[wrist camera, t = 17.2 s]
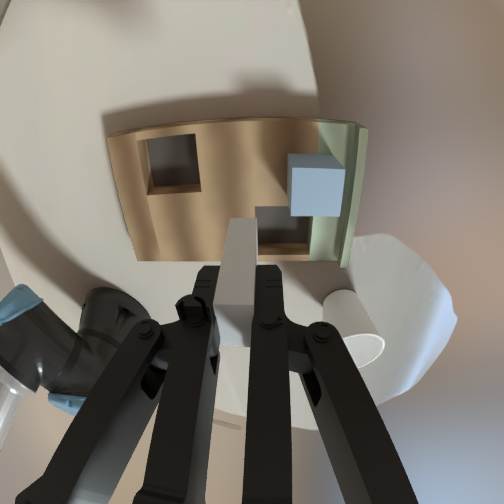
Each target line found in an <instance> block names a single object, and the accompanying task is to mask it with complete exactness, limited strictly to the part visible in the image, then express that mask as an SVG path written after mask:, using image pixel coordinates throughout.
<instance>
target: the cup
mask: <svg viewBox="0 0 504 504" xmlns="http://www.w3.org/2000/svg"><path fill="white" fill-rule="evenodd" d="M323 322H327V323H330V324H332V325H333V326H335V327H336V329H337V330H338V331H339V333H340V335H341V337H342V339H343V341H344V343H345V345H346V347H347V349H348V351H349V353H350V355H351V357H352V359H353V361H354V363H355V365H356V367H357V368H359V367H362V366H364V365H366V364H368V363H370V362H372V361H373V360H375V359H376V358H377V357H378V356H379V355H380V354H381V353H382V351H383V349H384V347H385V341H384V339H383V338H382V337H381V336H380V335H379V333H378V331H377V329H376V327H375V326H374V324H373V322H372V320H371V319H370V317H369V316H368V314H367V312H366V310H365V308H364V307H363V305H362V303H361V301H360V300H359V298H358V296H357V295H356V294H355V293H354V292H353V291H351V290H337V291H335V292H333V293H331V294H330V295H328V296H327V297H326V298H325V300H324V302H323Z"/></svg>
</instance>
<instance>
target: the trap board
mask: <svg viewBox="0 0 504 504" xmlns="http://www.w3.org/2000/svg"><path fill="white" fill-rule="evenodd" d="M367 139H368V128H366V127H364V126H362V125H360V124H358V123H357V122H352V121H342V120H331V119H316V118H293V117H250V118H226V119H211V120H200V121H189V122H181V123H172V124H165V125H158V126H151V127H145V128H139V129H134V130H128V131H123V132H118V133H116V134H114V135H112V136H110V137H108V138H107V143H108V149H109V154H110V159H111V164H112V169H113V173H114V178H115V182H116V186H117V191H118V195H119V199H120V203H121V207H122V210H123V214H124V218H125V221H126V225H127V228H128V232H129V235H130V239H131V242H132V245H133V248H134V251H135V255H136V258H137V261H221V260H222V255H223V250H224V245H225V241H226V236H227V231H228V226H229V222H230V218H257V238H258V261H338V264H339V266H340V268H346V267H347V265H348V261H349V256H350V251H351V247H352V242H353V236H354V231H355V226H356V220H357V214H358V209H359V202H360V195H361V190H362V183H363V175H364V167H365V159H366V149H367ZM288 153H289V154H323V155H333V156H334V157H335V158H336V159H337V160H338V161H339V162H340V164H341V165H342V166H343V167H344V168H345V179H344V188H343V196H342V204H341V212H340V217H332V216H291V215H290V209H289V204H288V199H287V164H288Z"/></svg>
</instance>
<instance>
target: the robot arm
mask: <svg viewBox="0 0 504 504" xmlns="http://www.w3.org/2000/svg"><path fill="white" fill-rule="evenodd" d="M175 306H176V309H177V313H178V316H179V319H180V320H178V321H176V322H173V323H169V324H164V325H160V324H159V323H158V322H157V321H155V320H153V319H151V318H150V316H149V314H148V312H147V311H146V310H145V309H144V308H143V307H142V306H141V305H140V304H139V303H138V302H137V301H136V300H134V299H133V298H131V297H130V296H128V295H126V294H124V293H122V292H120V291H117V290H114V289H110V288H96V289H94V290H92V291H90V292H89V294H88V295H87V297H86V299H85V300H84V302H83V306H82V313H81V318H80V325H79V330H78V332H77V333H76V332H75V331H74V330H72V329H71V328H70V327H69V326H68V325H67V324H66V323H65V322H64V321H62V320H61V319H60V318H59V317H58V316H57V315H56V314H55V313H54V312H53V311H52V310H51V309H50V308H49V307H48V306H47V305H46V304H45V303H44V302H43V299H42V298H40V297H38V296H37V295H36V294H35V293H34V292H33V291H32V290H31V289H30V288H29V287H28V286H27V285H24V284H19V285H17V286H16V287H15V288H13V290H11V291H10V292H9V293H8V294H7V296H6V297H5V298H4V299H3V300H2V301H1V302H0V450H1V448H2V445H3V442H4V440H5V437H6V434H7V432H8V429H9V427H10V424H11V422H12V420H13V417H14V415H15V413H16V411H17V408H18V406H19V404H20V402H21V400H22V398H23V396H25V395H32V394H35V393H36V391H37V389H38V387H39V386H40V385H41V386H43V387H44V388H45V389H47V390H48V391H49V392H50V393H49V394H48V400H49V402H50V403H51V404H53V405H54V406H56V407H57V408H59V409H61V410H63V411H65V412H67V413H69V414H72V415H74V416H75V418H74V419H73V421H72V423H71V424H70V426H69V428H68V430H67V432H66V433H65V435H64V437H63V439H62V440H61V442H60V444H59V446H58V448H57V449H56V452H55V453H54V455H53V457H52V459H51V461H50V463H49V464H48V466H47V468H46V471H45V472H44V474H43V475H42V476H41V477H40V478H39V479H37V480H36V481H35V482H34V483H32V484H31V485H30V486H29V487H27V488H26V489H25V490H23V491H22V492H21V493H20V494H18V495H17V497H16V499H15V504H107V503H108V502H109V500H110V498H111V496H112V495H113V493H114V490H115V488H116V486H117V484H118V482H119V480H120V478H121V476H122V474H123V472H124V470H125V468H126V466H127V464H128V462H129V460H130V458H131V456H132V454H133V452H134V450H135V448H136V446H137V444H138V442H139V440H140V438H141V436H142V434H143V432H144V430H145V428H146V426H147V424H148V422H149V420H150V418H151V416H152V414H153V412H154V410H155V409H156V407H157V405H158V403H159V405H158V410H157V415H156V419H155V424H154V429H153V433H152V439H151V444H150V449H149V454H148V460H147V465H146V471H145V477H144V482H143V486H142V488H141V489H140V490H139V491H138V492H137V493H136V495H135V497H134V499H133V503H132V504H206V503H205V490H206V479H207V469H208V459H209V449H210V440H211V431H212V422H213V413H214V404H215V395H216V387H217V378H218V370H219V362H220V352H219V345H220V343H221V346H231V347H250V365H249V384H248V403H247V422H246V440H245V441H246V442H245V458H244V476H243V495H242V504H292V443H291V407H290V382H289V371H293V372H297V373H299V376H300V379H301V382H302V384H303V387H304V390H305V393H306V395H307V398H308V401H309V404H310V406H311V409H312V412H313V415H314V418H315V420H316V423H317V426H318V429H319V431H320V434H321V437H322V440H323V442H324V445H325V448H326V451H327V453H328V456H329V459H330V461H331V465H332V467H333V470H334V473H335V476H336V478H337V481H338V484H339V486H340V490H341V492H342V495H343V498H344V501H345V503H346V504H418V501H417V499H416V496H415V493H414V491H413V489H412V486H411V484H410V481H409V479H408V476H407V474H406V472H405V469H404V467H403V465H402V463H401V460H400V458H399V456H398V453H397V451H396V449H395V447H394V444H393V442H392V440H391V438H390V435H389V433H388V431H387V429H386V427H385V425H384V422H383V420H382V418H381V416H380V414H379V412H378V410H377V408H376V405H375V403H374V401H373V399H372V397H371V395H370V393H369V391H368V389H367V387H366V385H365V383H364V381H363V379H362V377H361V375H360V373H359V371H358V369H357V367H356V365H355V363H354V361H353V359H352V357H351V355H350V353H349V351H348V349H347V347H346V345H345V343H344V341H343V339H342V337H341V335H340V333H339V331H338V330H337V329H336V327H335V326H333V325H332V324H330V323H327V322H323V321H322V322H315V323H312V324H310V325H309V326H308V327H306V326H302V325H298V324H296V323H293V322H292V321H290V320H289V319H288V318H287V316H286V315H285V311H284V300H283V285H282V272H281V270H280V269H279V267H278V266H277V265H258V238H257V218H230V222H229V226H228V231H227V236H226V241H225V245H224V250H223V255H222V260H221V265H220V266H203V267H202V269H201V270H200V271H199V272H198V274H197V278H196V281H195V285H194V289H193V292H192V294H190V295H186V296H184V297H182V298H181V299H180V300H178V302H177V303H176V305H175Z"/></svg>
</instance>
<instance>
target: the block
mask: <svg viewBox="0 0 504 504" xmlns="http://www.w3.org/2000/svg"><path fill="white" fill-rule="evenodd" d="M344 179H345V168H344V167H343V166H342V165H341V164H340V162H339V161H338V160H337V159H336V158H335V157H334V156H333V155H323V154H289V153H288V164H287V199H288V204H289V209H290V215H291V216H332V217H340V212H341V204H342V196H343V188H344Z"/></svg>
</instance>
